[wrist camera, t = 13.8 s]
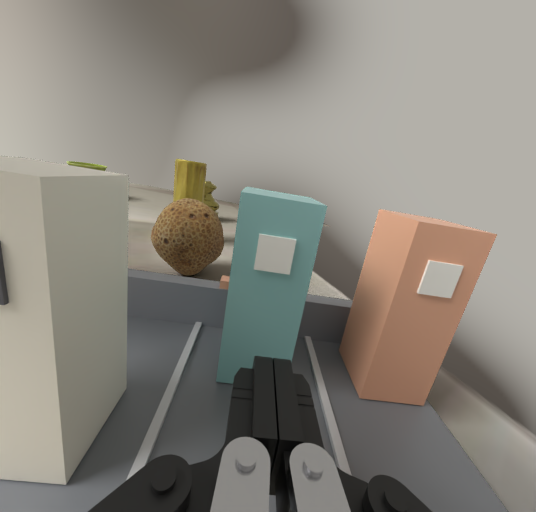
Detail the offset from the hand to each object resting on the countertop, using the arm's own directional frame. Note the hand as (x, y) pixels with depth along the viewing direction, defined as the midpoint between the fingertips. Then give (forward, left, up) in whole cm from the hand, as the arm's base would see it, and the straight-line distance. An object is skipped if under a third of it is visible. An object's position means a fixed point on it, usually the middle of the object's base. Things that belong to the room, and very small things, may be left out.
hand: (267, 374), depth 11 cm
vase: (-35, +26, -7) cm, 44 cm away
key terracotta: (+4, +11, -5) cm, 13 cm away
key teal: (-4, +6, -5) cm, 9 cm away
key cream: (-8, -5, -5) cm, 11 cm away
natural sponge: (-22, +15, -7) cm, 27 cm away
